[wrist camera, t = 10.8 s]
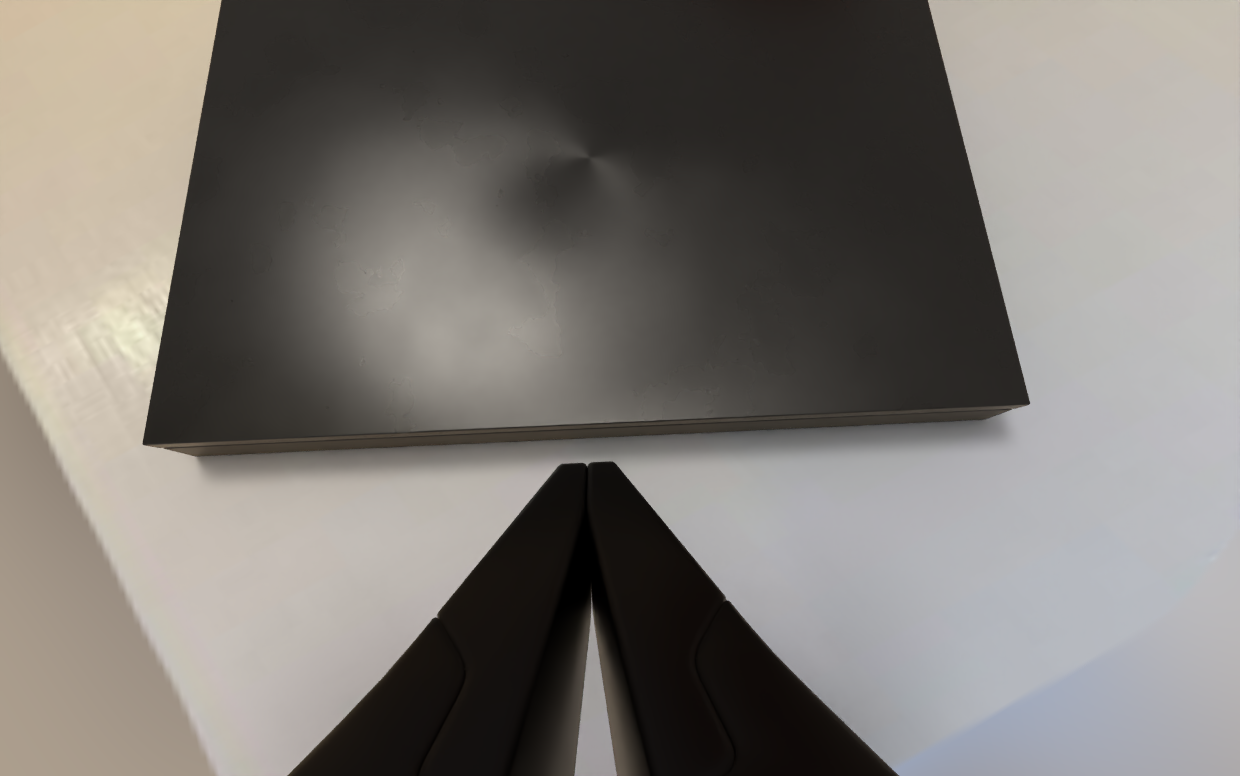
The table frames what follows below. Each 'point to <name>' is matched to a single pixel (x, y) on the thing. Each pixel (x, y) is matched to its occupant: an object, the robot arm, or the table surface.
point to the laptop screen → (575, 222)
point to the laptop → (584, 433)
